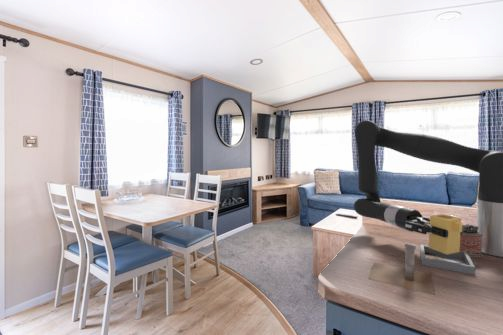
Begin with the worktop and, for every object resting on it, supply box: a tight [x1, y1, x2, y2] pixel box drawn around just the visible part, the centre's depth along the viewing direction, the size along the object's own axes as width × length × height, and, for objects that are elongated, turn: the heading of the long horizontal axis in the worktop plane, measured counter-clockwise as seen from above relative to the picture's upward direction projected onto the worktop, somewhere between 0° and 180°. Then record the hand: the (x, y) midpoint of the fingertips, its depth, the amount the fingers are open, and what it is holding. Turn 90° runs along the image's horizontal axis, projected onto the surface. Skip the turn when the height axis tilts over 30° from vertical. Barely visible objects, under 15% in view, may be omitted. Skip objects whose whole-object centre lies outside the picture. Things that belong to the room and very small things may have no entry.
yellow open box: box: [428, 213, 463, 254], centre depth 72 cm, size 7×5×10 cm
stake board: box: [368, 242, 436, 295], centre depth 65 cm, size 14×11×10 cm
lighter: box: [460, 223, 483, 258], centre depth 79 cm, size 8×3×10 cm, turn 84°
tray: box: [419, 244, 476, 276], centre depth 73 cm, size 12×12×3 cm
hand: (454, 232), depth 70 cm, fingers closed on yellow open box, 5 cm apart
